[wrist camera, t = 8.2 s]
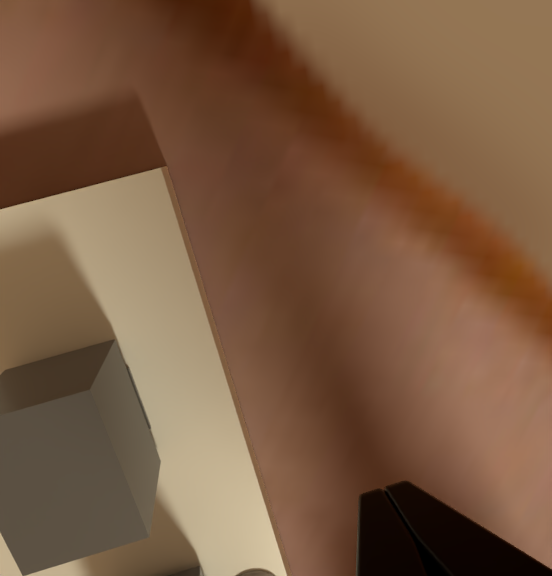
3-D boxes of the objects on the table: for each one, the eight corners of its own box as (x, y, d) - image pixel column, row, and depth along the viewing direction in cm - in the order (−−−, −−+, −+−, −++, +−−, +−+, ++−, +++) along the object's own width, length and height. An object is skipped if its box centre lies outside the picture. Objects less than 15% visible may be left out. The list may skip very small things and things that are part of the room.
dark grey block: (115, 339, 13) (90, 389, 10) (160, 460, 14) (149, 537, 12) (4, 370, 13) (-52, 430, 10) (60, 491, 14) (22, 576, 11)
